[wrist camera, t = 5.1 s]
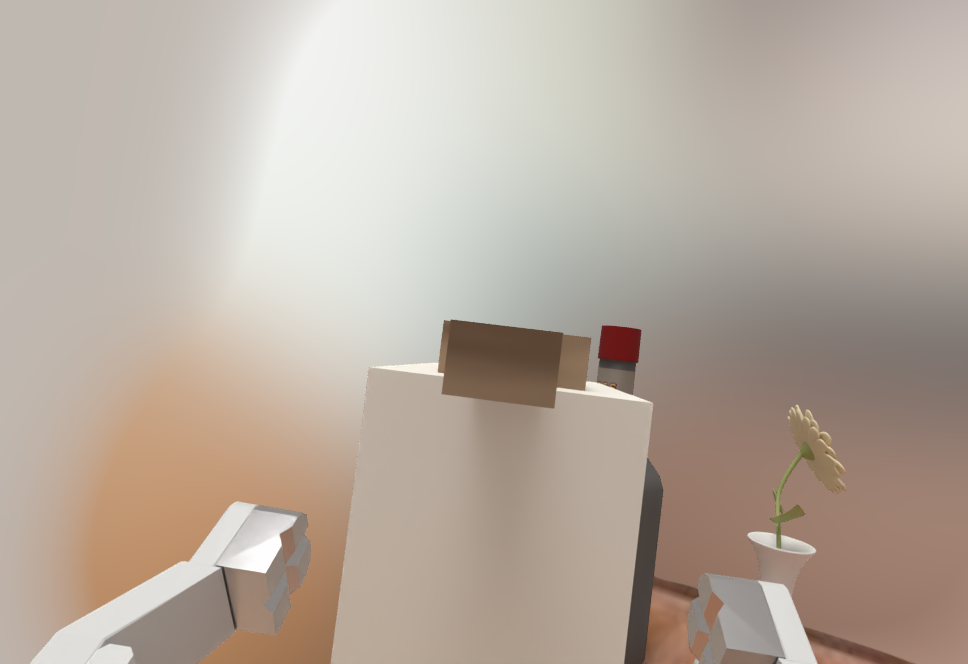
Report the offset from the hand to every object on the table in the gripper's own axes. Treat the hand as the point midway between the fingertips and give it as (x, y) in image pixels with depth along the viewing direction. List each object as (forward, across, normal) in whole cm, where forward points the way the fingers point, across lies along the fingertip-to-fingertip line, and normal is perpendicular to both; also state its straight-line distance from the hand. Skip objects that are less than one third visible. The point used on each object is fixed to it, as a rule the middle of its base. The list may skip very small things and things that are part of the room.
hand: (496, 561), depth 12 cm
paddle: (+13, +1, +4) cm, 14 cm away
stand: (+7, +1, +30) cm, 31 cm away
